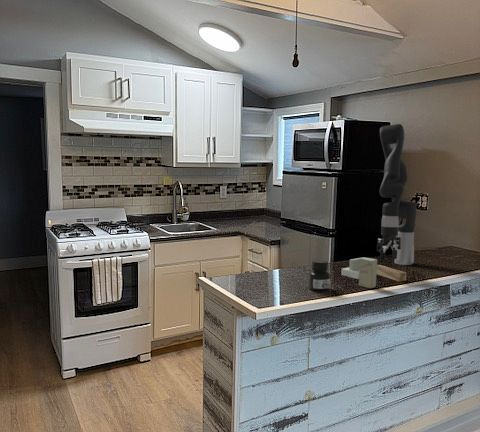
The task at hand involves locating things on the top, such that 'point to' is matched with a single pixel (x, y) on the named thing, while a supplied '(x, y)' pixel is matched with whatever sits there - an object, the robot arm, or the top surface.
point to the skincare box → (368, 272)
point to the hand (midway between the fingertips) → (388, 259)
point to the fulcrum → (352, 269)
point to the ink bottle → (319, 276)
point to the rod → (391, 273)
